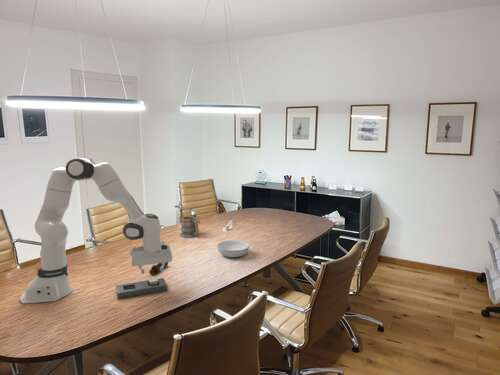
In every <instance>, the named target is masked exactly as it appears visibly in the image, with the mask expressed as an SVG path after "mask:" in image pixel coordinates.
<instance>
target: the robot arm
mask: <svg viewBox="0 0 500 375" xmlns="http://www.w3.org/2000/svg"><path fill="white" fill-rule="evenodd" d="M87 180H93V181H94V182H95V184H96V186H97V187H98V190H99V191H100V193H101V195H102V196H103V197H104V198H105V200H107V201H109V202H113V203H114V202H115V203H118V204H119V205H121V206H122V207H123V208H124V209H125V210H126V212H127V213H128V216H129V217H130V219H131V220H130V221H128V222H127V223H125V224H124V225H123V227H122V234H123V236H124V237H125V238H126V239H127V240H131V241H134V240H136V241H137V240H142V246H138V247H137V246H136V247H133V248H131V249H130V251H129V255H130V256H131V257H130V264H131V266H132V267H138V268H139V270H140V273H141V274H145V268H142V266H147V265H157V264H158V263H162V264H163V265H162V266H161V267H160V270H159V272H163V271H164V268H165V267H164V266H165V263H166V262H168V263H171V262H172V261H173V253H172V251H171V247H170V244H169V243H168V242H167V241H163V240H161V237H160V233H161V225H160V223H161V222H160V218H159V216H158V215H156V214H154V213H144V212H143V211H142V210H141V208H140V206H139V204H137V202H136V201H135V199H134V197H133V196H132V194H130V192H129V191H128V189H127V188H126V186H124V183H123V182H122V179H121V178H120V176H119V175H118V173H117V171H115V169H114V168H113V166H111V164H110V163H108V162H100V163H98V164H96V163H95V162H94V161H93V160H91V159H89V158H86V157H73V158H71V159H69V160H68V161H67V162H66V164H65V167H57V168H54V169H53V170H52V171H51V174H50V177H49V178H48V182H47V184H46V191H45V194H44V198H43V199H44V200H43V202H42V203H43V204H42V206H41V209H40V211H39V214H38V216H37V219H36V220H35V223H34V230H35V232H36V233H37V235H39V236H40V239H41V240H40V241H41V245H40V253H39V254H40V255H39V256H40V266H37V268H36V275H37V276H35V277H34V278H33V279H31V281H29V282H28V283H27V285H26V287H25V291H24V292H23V293H22V294H21V296H20V303H21V304H24V305H25V304H37V303H47V302H56V301H58V300H60V299H61V298H64V297H66V296H68V295H70V294H71V293H72V292H73V288H72V287H71V283H70V279H69V266H68V264H67V257H66V246H67V236H69V232H68V231H69V230H68V227H67V226H66V224H65V222H63V219H64V215H65V213H66V211H67V210H68V208H69V207H70V206H69V205H70V200H71V196H72V192H73V186H74V184H75V182H77V181H87Z"/></svg>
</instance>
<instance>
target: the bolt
mask: <svg viewBox="0 0 500 375" xmlns="http://www.w3.org/2000/svg"><path fill="white" fill-rule="evenodd" d="M162 265H163V264H162V263H157V264H152V267H151V268H150V269H149V271H148V272H149V273H148V274H150V275H151V276H152V275H155V274H158V273H159V272H160V267H161V266H162ZM168 265H169V262H166V263H165V266H164V268H166V267H167V266H168Z"/></svg>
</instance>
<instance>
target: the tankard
mask: <svg viewBox="0 0 500 375" xmlns="http://www.w3.org/2000/svg"><path fill="white" fill-rule="evenodd" d="M200 223H201V221H200V219H198V218H197V217H195V216H184V217H183V216H182V218H181V221H180V226H181V228H180V231H181V233H180V234H179V236H180V237H181V238H183V239H186V238H187V239H192V238H195V237H196V238H197V237H198V235H199V231H200V230H199V229H200V228H199V224H200Z"/></svg>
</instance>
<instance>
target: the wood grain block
mask: <svg viewBox="0 0 500 375" xmlns="http://www.w3.org/2000/svg"><path fill="white" fill-rule="evenodd" d="M157 279H158V278H157V277H153V278H152V277H151V278H148V280H149V286H154V285H158V280H157Z"/></svg>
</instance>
